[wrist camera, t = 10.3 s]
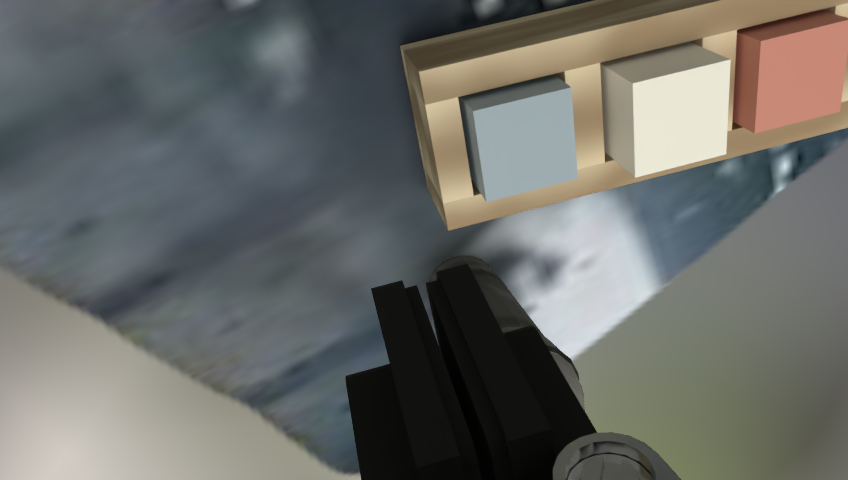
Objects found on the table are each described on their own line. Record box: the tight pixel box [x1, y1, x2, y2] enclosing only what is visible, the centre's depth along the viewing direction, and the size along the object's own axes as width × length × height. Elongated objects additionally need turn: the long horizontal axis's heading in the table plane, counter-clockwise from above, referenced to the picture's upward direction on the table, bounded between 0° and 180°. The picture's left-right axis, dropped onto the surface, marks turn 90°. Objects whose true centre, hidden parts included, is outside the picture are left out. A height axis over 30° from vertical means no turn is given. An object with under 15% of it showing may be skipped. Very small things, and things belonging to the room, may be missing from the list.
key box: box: [400, 0, 848, 231], centre depth 40 cm, size 9×24×6 cm, turn 100°
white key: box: [600, 41, 731, 178], centre depth 36 cm, size 5×5×4 cm
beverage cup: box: [430, 256, 585, 411], centre depth 38 cm, size 7×7×20 cm
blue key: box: [458, 74, 578, 202], centre depth 37 cm, size 5×5×4 cm
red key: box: [732, 10, 848, 134], centre depth 38 cm, size 5×5×4 cm
